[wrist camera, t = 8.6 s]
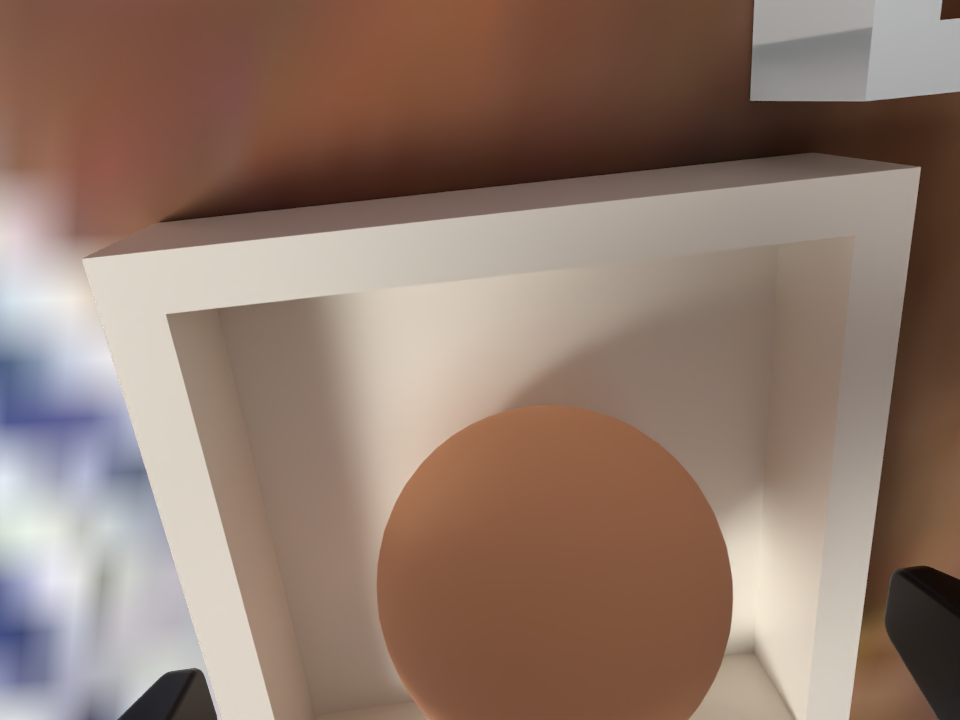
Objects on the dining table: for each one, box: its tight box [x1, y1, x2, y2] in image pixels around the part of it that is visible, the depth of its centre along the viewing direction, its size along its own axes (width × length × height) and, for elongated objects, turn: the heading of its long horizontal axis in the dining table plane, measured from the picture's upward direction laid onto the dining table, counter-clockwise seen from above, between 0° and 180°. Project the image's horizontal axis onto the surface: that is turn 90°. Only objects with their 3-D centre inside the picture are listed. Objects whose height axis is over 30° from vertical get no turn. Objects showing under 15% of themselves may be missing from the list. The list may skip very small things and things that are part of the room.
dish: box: [82, 152, 921, 720], centre depth 12 cm, size 11×11×3 cm
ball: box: [376, 405, 733, 720], centre depth 10 cm, size 5×5×5 cm
